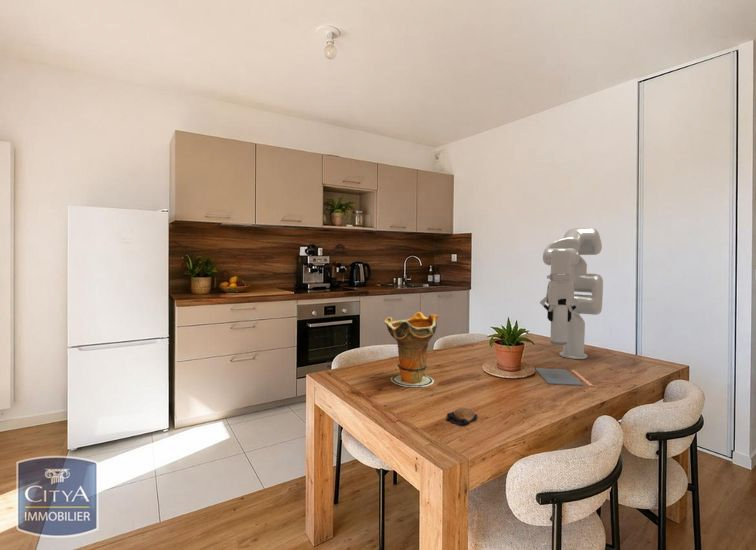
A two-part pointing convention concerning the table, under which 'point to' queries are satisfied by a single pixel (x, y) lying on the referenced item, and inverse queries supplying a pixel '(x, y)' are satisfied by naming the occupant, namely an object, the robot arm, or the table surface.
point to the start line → (582, 378)
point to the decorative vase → (412, 348)
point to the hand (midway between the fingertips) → (559, 320)
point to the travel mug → (559, 323)
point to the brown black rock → (462, 417)
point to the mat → (558, 377)
